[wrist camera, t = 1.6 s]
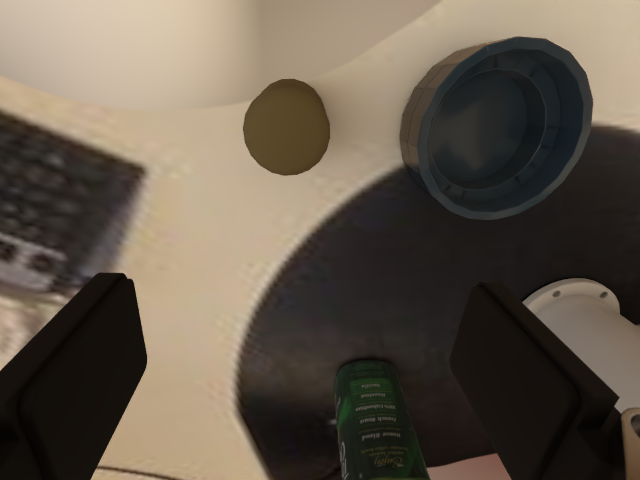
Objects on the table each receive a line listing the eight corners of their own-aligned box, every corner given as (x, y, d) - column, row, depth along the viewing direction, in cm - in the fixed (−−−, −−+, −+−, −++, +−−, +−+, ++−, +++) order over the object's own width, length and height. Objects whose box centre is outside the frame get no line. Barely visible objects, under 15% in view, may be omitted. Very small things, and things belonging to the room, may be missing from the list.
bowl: (565, 51, 28) (622, 45, 23) (518, 202, 34) (556, 222, 29) (412, 39, 27) (437, 29, 22) (388, 196, 33) (404, 216, 28)
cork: (239, 120, 29) (209, 141, 19) (285, 61, 27) (278, 49, 18) (294, 167, 31) (292, 208, 21) (340, 114, 29) (361, 131, 19)
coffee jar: (332, 357, 41) (357, 551, 24) (398, 354, 41) (469, 543, 24) (331, 414, 45) (351, 615, 28) (391, 411, 45) (447, 607, 28)
